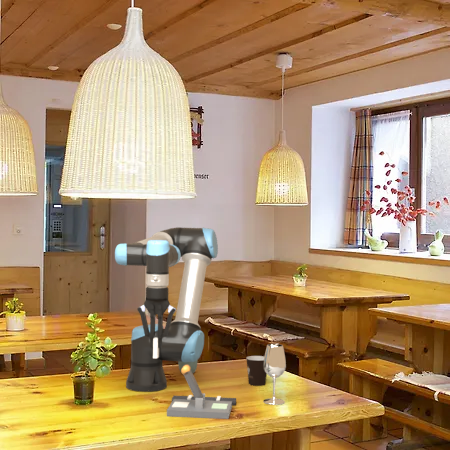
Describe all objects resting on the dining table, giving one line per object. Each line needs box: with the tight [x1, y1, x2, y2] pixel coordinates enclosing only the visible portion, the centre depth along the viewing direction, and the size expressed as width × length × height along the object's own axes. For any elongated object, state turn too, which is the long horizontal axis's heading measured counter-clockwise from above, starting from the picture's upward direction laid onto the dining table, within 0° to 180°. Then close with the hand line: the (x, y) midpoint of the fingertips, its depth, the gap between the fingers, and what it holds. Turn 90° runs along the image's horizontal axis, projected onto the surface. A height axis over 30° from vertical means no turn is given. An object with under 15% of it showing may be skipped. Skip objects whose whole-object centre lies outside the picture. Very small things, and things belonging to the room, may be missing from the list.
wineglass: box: [262, 343, 287, 406], centre depth 263 cm, size 8×8×20 cm
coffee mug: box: [245, 355, 267, 387], centre depth 291 cm, size 12×9×10 cm
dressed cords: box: [171, 394, 237, 406], centre depth 260 cm, size 22×5×2 cm, turn 85°
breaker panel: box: [166, 393, 233, 420], centre depth 249 cm, size 20×14×5 cm
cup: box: [177, 360, 198, 374], centre depth 305 cm, size 8×8×10 cm
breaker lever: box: [180, 365, 203, 399], centre depth 250 cm, size 3×4×13 cm, turn 174°
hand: (155, 357), depth 250 cm, fingers closed
